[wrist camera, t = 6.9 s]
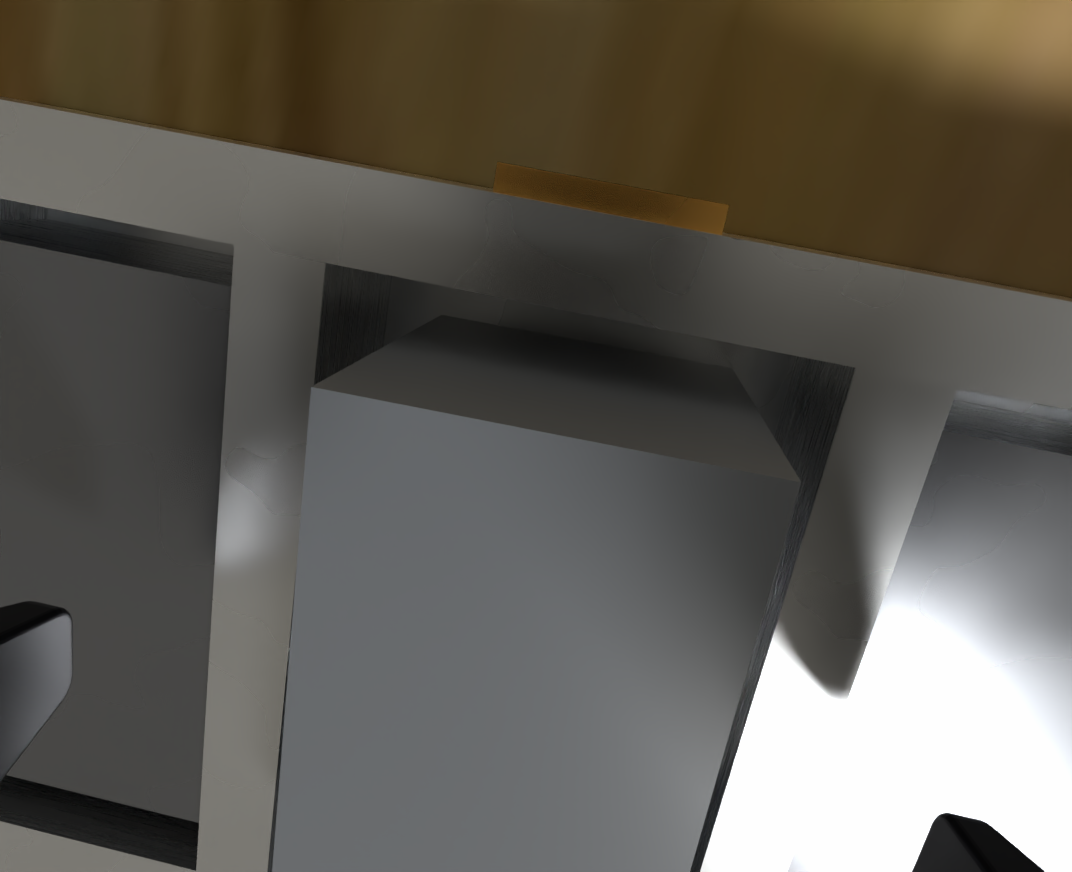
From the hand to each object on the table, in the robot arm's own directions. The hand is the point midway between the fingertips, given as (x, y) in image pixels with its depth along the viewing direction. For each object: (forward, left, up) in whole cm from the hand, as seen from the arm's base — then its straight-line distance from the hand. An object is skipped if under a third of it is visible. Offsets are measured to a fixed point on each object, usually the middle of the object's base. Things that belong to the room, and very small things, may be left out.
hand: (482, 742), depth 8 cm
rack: (0, 0, -5) cm, 5 cm away
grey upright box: (0, 0, -4) cm, 4 cm away
